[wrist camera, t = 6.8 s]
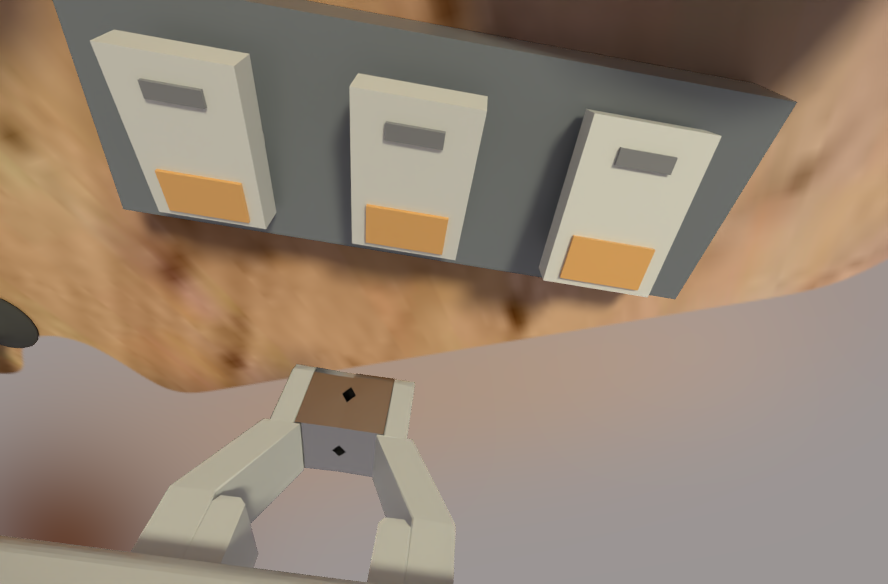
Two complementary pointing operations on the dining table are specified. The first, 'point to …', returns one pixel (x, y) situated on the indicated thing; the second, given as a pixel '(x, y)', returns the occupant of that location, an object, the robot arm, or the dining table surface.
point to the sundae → (16, 327)
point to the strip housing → (444, 66)
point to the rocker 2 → (412, 163)
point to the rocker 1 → (191, 125)
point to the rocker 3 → (624, 201)
